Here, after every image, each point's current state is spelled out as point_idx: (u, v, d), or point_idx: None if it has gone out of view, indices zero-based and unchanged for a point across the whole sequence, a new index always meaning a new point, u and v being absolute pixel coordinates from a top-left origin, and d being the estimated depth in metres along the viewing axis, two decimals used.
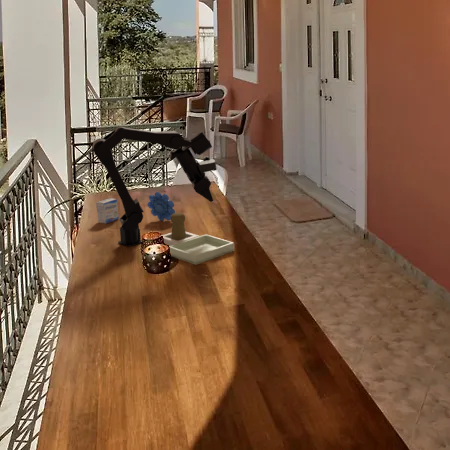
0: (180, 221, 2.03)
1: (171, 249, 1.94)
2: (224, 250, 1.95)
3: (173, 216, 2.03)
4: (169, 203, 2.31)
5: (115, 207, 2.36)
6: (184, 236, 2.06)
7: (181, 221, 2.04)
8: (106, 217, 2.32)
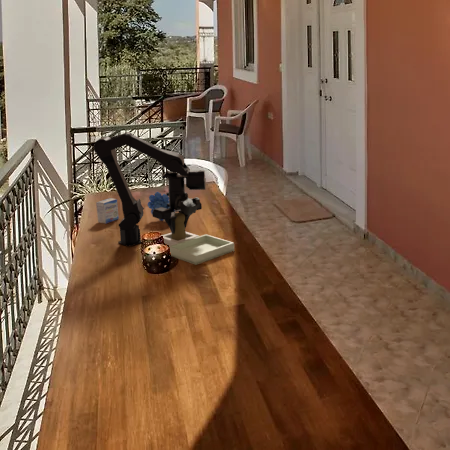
0: (180, 221, 2.03)
1: (171, 249, 1.94)
2: (224, 250, 1.95)
3: None
4: None
5: (115, 207, 2.36)
6: (184, 236, 2.06)
7: (181, 221, 2.04)
8: (106, 217, 2.32)
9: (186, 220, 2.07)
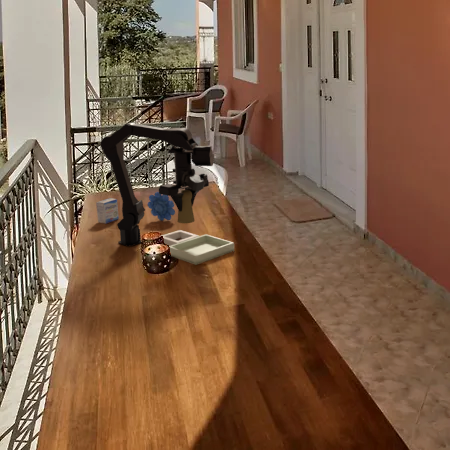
0: (187, 198, 1.97)
1: (171, 249, 1.94)
2: (224, 250, 1.95)
3: None
4: (169, 203, 2.31)
5: (115, 207, 2.36)
6: (191, 214, 2.00)
7: (188, 198, 1.98)
8: (106, 217, 2.32)
9: (193, 197, 2.01)
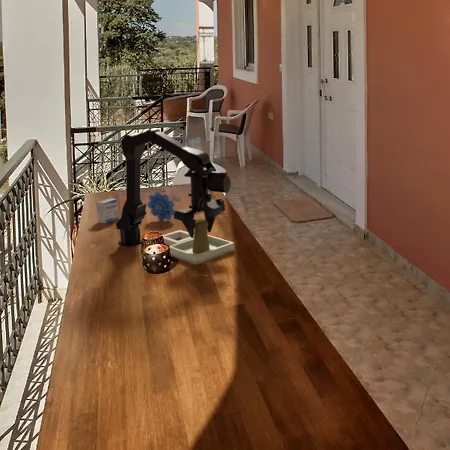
0: (203, 228, 1.92)
1: (171, 249, 1.94)
2: (224, 250, 1.95)
3: (196, 222, 1.92)
4: (169, 203, 2.31)
5: (115, 207, 2.36)
6: (207, 244, 1.95)
7: (204, 228, 1.93)
8: (106, 217, 2.32)
9: (212, 221, 1.96)
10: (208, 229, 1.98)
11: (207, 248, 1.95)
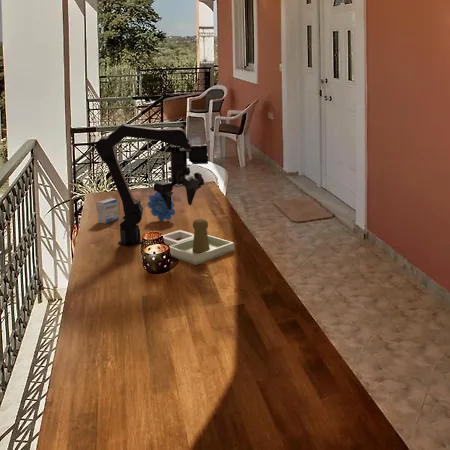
0: (203, 228, 1.92)
1: (171, 249, 1.94)
2: (224, 250, 1.95)
3: (195, 223, 1.93)
4: None
5: (115, 207, 2.36)
6: (207, 244, 1.95)
7: (204, 228, 1.93)
8: (106, 217, 2.32)
9: (193, 194, 2.08)
10: (189, 202, 2.09)
11: (207, 248, 1.95)
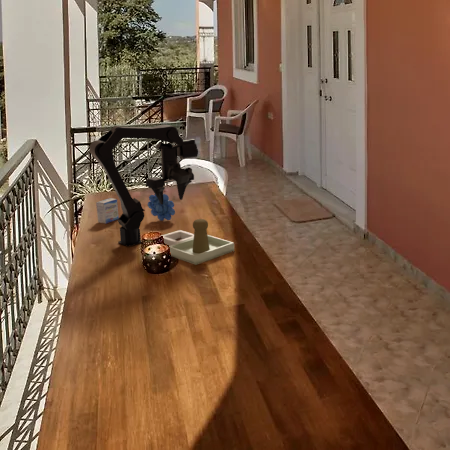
0: (203, 228, 1.92)
1: (171, 249, 1.94)
2: (224, 250, 1.95)
3: (195, 223, 1.93)
4: (169, 203, 2.31)
5: (115, 207, 2.36)
6: (207, 244, 1.95)
7: (204, 228, 1.93)
8: (106, 217, 2.32)
9: (183, 189, 2.14)
10: (180, 196, 2.15)
11: (207, 248, 1.95)
